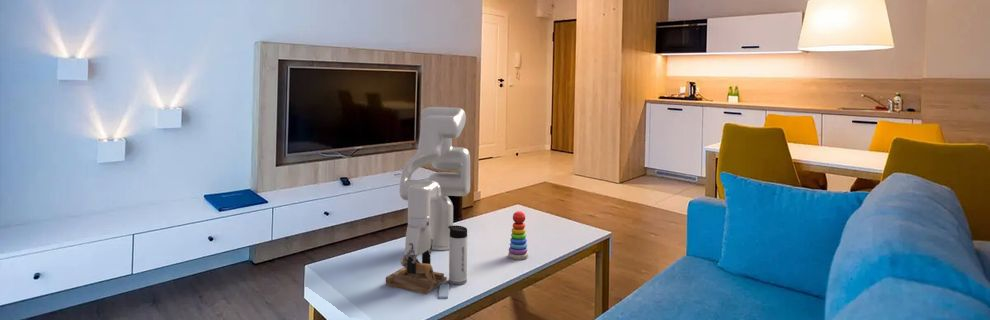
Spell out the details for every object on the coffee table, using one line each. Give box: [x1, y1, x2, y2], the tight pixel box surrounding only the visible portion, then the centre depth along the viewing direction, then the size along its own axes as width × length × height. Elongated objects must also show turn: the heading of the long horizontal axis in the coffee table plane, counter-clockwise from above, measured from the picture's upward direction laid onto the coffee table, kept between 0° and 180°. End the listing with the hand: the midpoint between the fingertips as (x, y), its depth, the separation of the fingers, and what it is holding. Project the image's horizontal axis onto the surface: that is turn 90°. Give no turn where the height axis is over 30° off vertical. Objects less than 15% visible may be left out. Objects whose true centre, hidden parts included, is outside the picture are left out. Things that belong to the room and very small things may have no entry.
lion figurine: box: [400, 254, 440, 285], centre depth 184 cm, size 15×5×9 cm, turn 69°
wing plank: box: [438, 283, 450, 300], centre depth 178 cm, size 10×3×1 cm, turn 3°
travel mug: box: [448, 225, 468, 286], centre depth 186 cm, size 6×7×20 cm
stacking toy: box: [507, 210, 529, 260], centre depth 213 cm, size 8×8×19 cm
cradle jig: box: [385, 266, 447, 295], centre depth 186 cm, size 14×16×3 cm
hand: (419, 268), depth 185 cm, fingers open, 9 cm apart
